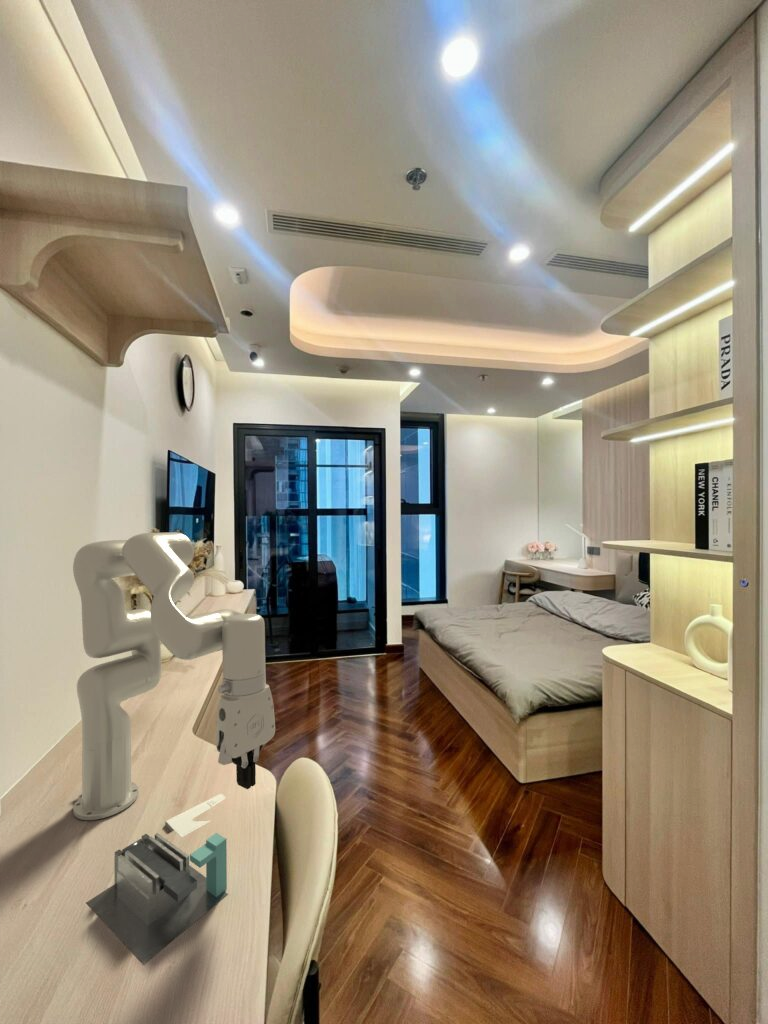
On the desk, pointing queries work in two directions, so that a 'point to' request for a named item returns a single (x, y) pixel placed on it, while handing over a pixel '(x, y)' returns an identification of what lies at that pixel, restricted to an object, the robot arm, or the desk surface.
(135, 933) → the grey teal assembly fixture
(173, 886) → the dark grey flat bar
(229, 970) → the desk surface
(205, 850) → the clip
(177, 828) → the external hard drive
